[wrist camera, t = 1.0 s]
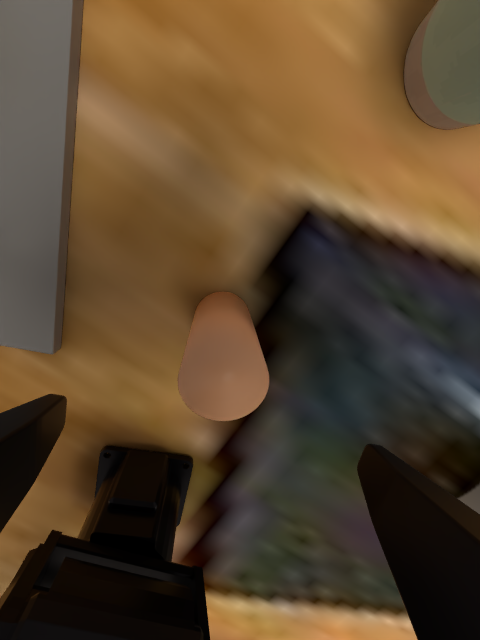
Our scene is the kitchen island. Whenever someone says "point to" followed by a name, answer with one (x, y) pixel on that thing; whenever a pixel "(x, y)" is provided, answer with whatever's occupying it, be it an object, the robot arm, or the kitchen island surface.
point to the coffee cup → (446, 65)
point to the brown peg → (223, 360)
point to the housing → (36, 165)
